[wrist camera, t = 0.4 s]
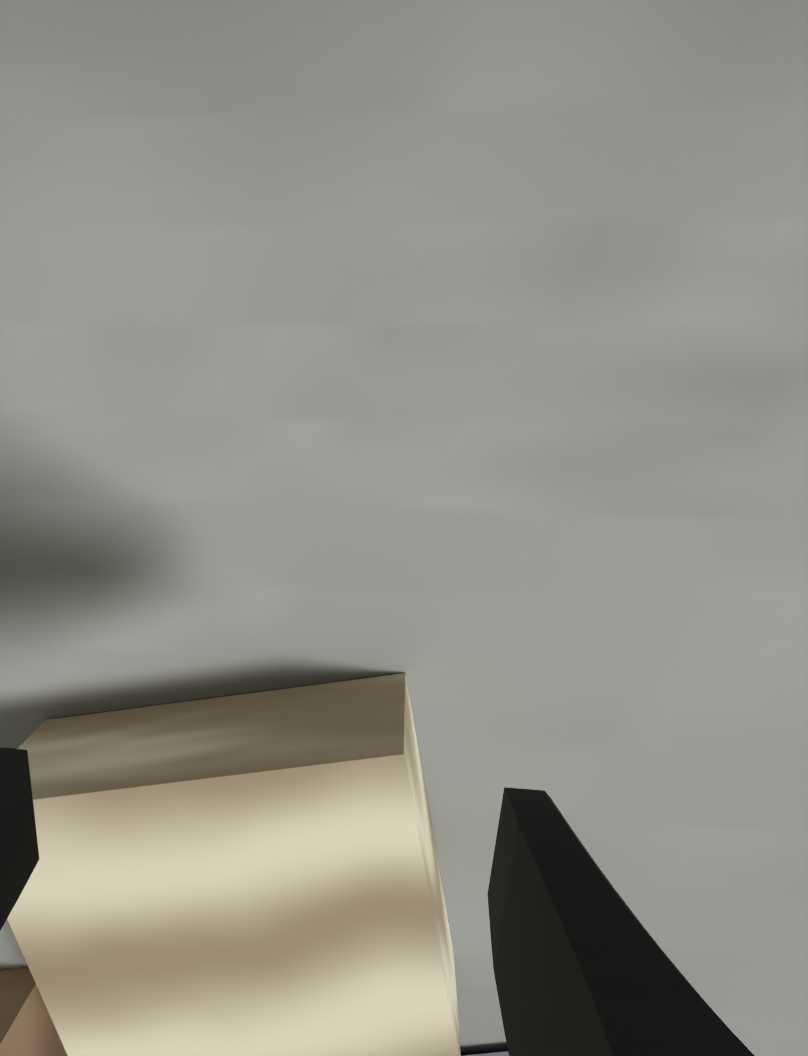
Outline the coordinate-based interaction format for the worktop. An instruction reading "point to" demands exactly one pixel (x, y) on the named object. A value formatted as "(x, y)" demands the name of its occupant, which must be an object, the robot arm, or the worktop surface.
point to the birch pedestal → (239, 879)
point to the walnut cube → (25, 1018)
